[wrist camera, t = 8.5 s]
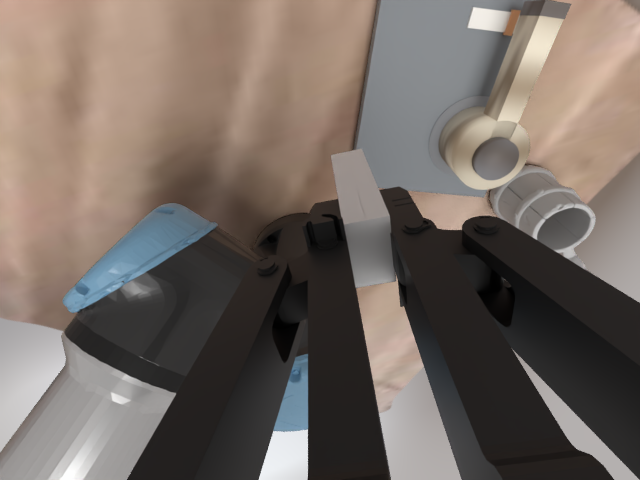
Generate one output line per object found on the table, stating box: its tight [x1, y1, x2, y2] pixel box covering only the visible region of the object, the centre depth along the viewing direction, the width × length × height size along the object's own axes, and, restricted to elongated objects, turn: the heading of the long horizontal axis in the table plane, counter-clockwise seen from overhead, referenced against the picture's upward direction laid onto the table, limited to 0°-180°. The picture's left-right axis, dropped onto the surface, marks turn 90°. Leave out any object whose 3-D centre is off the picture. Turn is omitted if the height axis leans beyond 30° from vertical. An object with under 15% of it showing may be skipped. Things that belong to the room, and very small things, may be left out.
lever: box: [439, 0, 571, 190], centre depth 32 cm, size 16×7×7 cm, turn 173°
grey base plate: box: [353, 0, 536, 197], centre depth 36 cm, size 20×17×2 cm
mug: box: [490, 165, 595, 273], centre depth 40 cm, size 8×12×12 cm, turn 35°
